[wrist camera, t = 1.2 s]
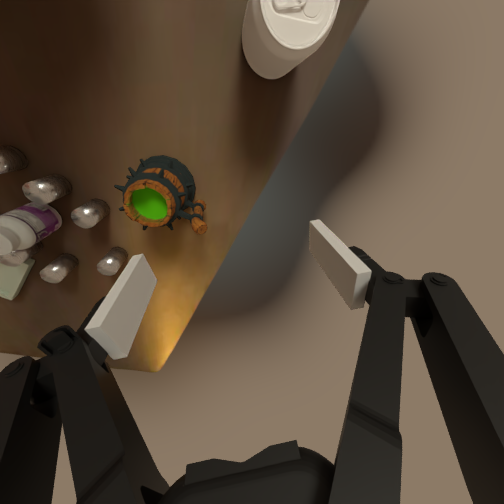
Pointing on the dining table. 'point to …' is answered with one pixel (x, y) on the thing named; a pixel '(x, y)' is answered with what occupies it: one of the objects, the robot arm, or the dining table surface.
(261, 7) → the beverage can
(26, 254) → the posts
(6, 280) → the tray
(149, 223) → the mug
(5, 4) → the dining table surface
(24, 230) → the pill bottle
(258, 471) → the robot arm
